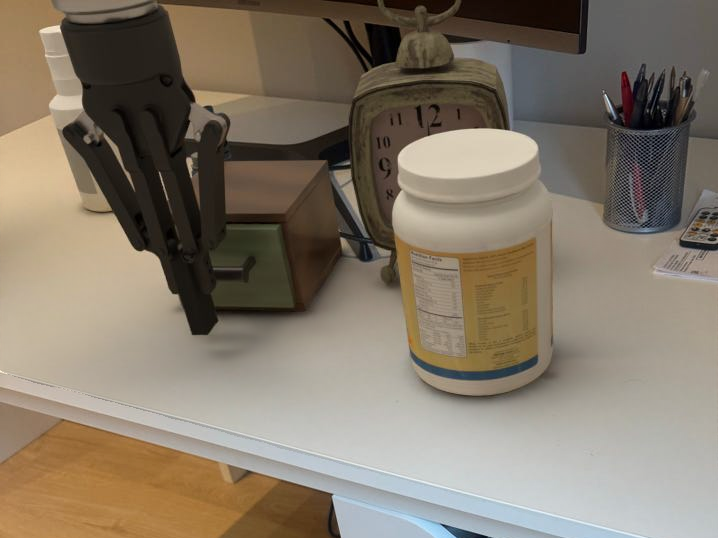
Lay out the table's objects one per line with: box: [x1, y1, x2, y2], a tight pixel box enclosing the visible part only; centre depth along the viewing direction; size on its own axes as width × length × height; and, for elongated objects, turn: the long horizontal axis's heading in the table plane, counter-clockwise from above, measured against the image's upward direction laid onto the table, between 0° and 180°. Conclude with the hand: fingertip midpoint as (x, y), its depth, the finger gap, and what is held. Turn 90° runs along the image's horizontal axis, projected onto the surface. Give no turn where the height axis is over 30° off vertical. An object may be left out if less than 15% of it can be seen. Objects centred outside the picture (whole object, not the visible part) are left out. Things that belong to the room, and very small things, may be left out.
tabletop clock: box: [347, 0, 511, 284], centre depth 82 cm, size 14×9×25 cm, turn 89°
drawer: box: [174, 222, 297, 308], centre depth 86 cm, size 16×11×7 cm
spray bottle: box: [38, 24, 135, 213], centre depth 104 cm, size 7×7×18 cm
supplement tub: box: [392, 129, 554, 397], centre depth 71 cm, size 12×12×17 cm
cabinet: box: [167, 159, 343, 312], centre depth 89 cm, size 14×13×9 cm
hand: (205, 327), depth 80 cm, fingers closed
